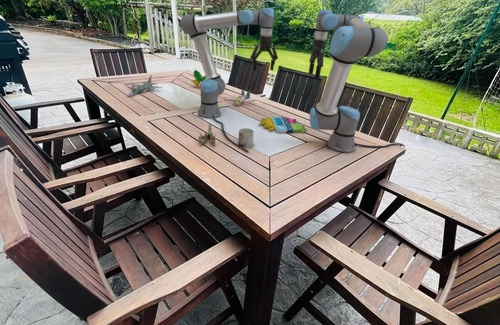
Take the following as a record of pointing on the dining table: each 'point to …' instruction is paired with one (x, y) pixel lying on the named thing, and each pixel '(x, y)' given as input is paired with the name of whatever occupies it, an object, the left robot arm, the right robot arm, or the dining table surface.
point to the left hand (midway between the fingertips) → (263, 70)
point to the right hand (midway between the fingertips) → (313, 76)
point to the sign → (282, 125)
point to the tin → (245, 138)
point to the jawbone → (207, 136)
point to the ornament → (198, 78)
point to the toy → (241, 99)
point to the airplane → (143, 87)
